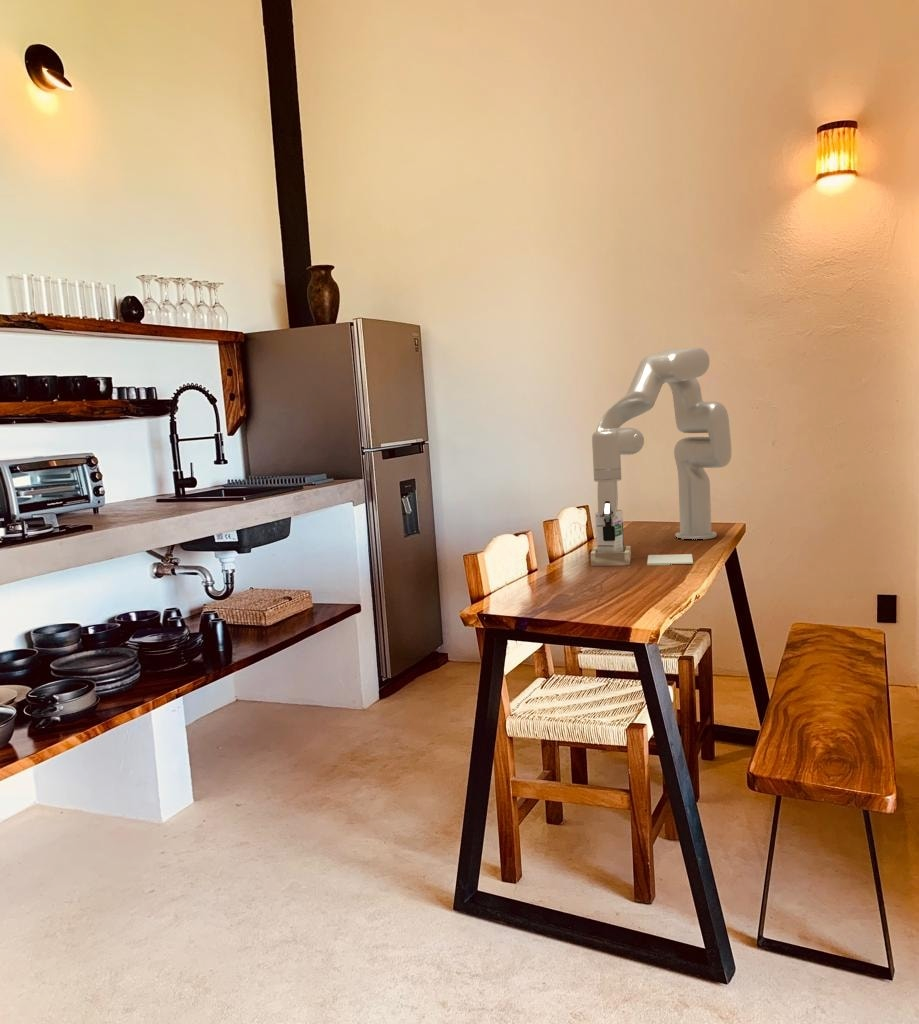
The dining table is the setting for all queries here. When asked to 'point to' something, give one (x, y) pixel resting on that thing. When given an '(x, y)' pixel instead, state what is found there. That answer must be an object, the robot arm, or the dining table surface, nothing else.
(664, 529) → the dining table surface
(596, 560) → the holder
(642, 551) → the dining table surface
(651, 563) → the mat
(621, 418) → the robot arm
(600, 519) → the syrup box
